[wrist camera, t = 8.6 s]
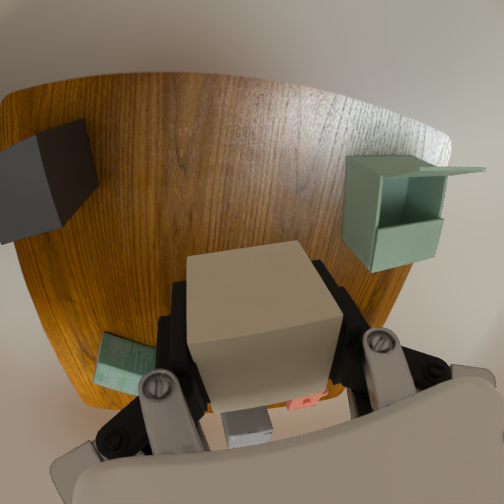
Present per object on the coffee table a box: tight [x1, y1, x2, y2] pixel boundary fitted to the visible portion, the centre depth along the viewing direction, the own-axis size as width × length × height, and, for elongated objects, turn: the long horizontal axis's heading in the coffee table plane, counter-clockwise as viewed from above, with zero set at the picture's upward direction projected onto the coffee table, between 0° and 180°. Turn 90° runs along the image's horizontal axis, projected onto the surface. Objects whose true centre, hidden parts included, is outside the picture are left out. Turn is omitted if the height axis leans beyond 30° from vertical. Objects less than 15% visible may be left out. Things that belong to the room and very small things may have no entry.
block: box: [187, 240, 343, 413], centre depth 10 cm, size 4×4×4 cm
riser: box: [0, 119, 99, 245], centre depth 24 cm, size 9×9×12 cm
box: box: [93, 333, 156, 396], centre depth 45 cm, size 7×14×8 cm, turn 58°
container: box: [342, 155, 448, 273], centre depth 36 cm, size 13×12×9 cm
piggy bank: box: [285, 388, 328, 411], centre depth 57 cm, size 8×12×8 cm, turn 85°
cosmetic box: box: [221, 405, 273, 448], centre depth 50 cm, size 8×7×16 cm
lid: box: [384, 167, 486, 178], centre depth 25 cm, size 6×12×1 cm
